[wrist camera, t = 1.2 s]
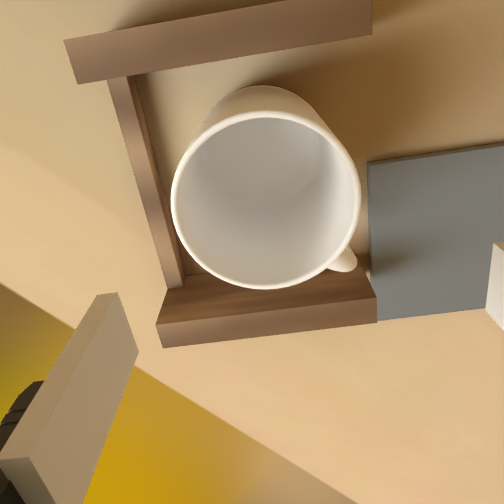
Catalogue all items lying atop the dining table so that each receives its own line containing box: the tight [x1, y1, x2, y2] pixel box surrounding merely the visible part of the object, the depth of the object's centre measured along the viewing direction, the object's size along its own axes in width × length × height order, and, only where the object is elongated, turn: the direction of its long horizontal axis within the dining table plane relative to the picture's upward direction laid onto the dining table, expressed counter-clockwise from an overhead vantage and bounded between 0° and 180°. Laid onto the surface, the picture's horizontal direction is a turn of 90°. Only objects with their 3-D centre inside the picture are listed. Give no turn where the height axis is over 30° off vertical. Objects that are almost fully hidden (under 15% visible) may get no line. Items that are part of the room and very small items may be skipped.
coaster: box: [367, 142, 504, 321], centre depth 31 cm, size 13×13×1 cm
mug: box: [171, 85, 362, 289], centre depth 24 cm, size 9×12×11 cm
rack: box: [63, 0, 377, 348], centre depth 26 cm, size 19×14×6 cm
